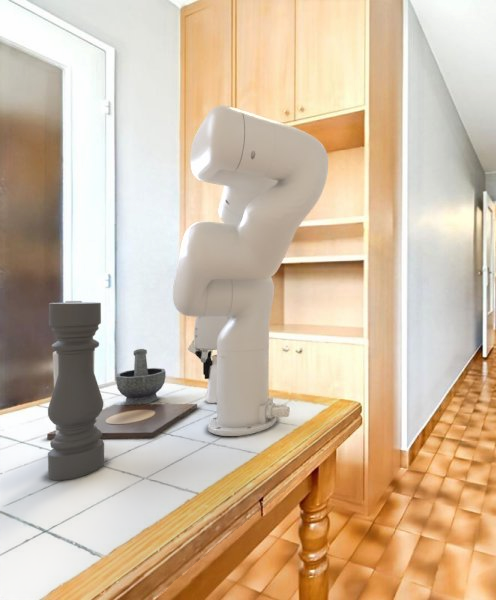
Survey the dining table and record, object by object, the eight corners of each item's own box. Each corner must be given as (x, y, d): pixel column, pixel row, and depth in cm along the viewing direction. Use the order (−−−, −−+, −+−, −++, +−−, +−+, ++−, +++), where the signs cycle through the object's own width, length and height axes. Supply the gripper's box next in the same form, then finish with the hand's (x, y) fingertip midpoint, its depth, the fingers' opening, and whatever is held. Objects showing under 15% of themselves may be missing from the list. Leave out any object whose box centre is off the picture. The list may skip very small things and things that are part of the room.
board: (197, 408, 79) (197, 403, 79) (152, 437, 63) (152, 431, 63) (114, 408, 78) (114, 403, 78) (47, 439, 62) (46, 433, 62)
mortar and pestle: (167, 402, 83) (166, 352, 83) (116, 410, 77) (115, 356, 77) (162, 391, 92) (162, 346, 91) (116, 397, 86) (116, 349, 85)
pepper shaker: (204, 404, 82) (204, 357, 81) (207, 398, 87) (206, 354, 86) (230, 401, 84) (230, 356, 84) (231, 395, 89) (231, 352, 89)
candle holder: (55, 485, 48) (53, 304, 47) (42, 472, 51) (39, 302, 51) (111, 466, 53) (109, 303, 53) (95, 455, 56) (94, 302, 56)
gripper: (258, 302, 89) (258, 373, 89) (191, 302, 88) (191, 374, 88) (247, 303, 82) (247, 381, 82) (173, 303, 80) (174, 382, 81)
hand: (218, 376), depth 85 cm, fingers closed on pepper shaker, 3 cm apart
